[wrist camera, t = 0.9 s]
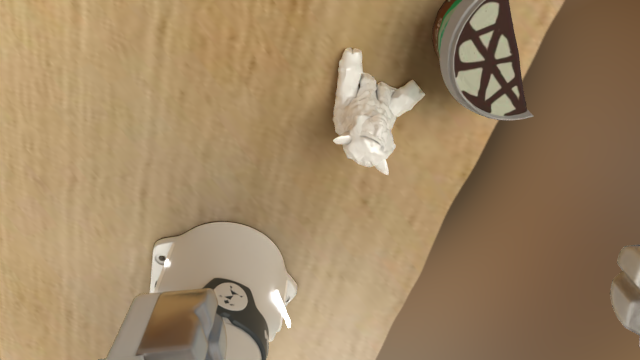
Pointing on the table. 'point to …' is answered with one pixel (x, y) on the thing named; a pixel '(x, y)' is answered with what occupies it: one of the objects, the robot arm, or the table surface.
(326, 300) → the table surface
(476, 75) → the food container
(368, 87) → the seated beast figurine
